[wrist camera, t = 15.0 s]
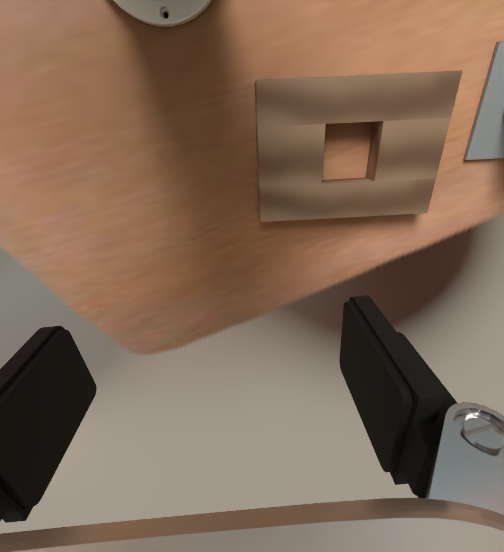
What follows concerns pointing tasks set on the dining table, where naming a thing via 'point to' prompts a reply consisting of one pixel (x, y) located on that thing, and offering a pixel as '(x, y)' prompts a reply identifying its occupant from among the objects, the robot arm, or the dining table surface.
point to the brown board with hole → (383, 148)
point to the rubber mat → (490, 114)
